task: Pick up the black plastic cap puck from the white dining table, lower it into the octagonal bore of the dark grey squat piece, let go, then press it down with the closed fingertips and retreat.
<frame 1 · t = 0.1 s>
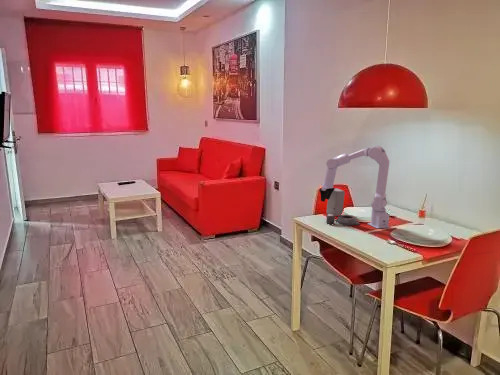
hand: (324, 200, 230), 10 cm above the table, tool pointing down, fingers open, 7 cm apart
dark grey squat piece: (346, 222, 220), on the table
skincare box: (334, 214, 239), on the table
cap: (330, 223, 218), on the table
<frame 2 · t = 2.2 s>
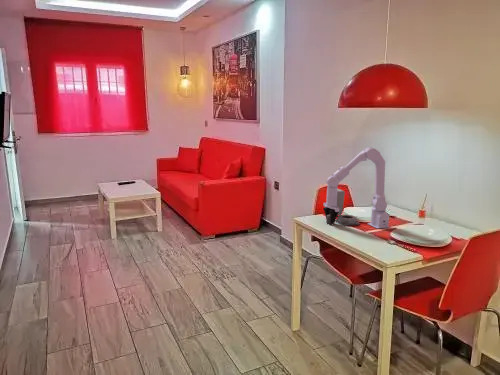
hand: (330, 221, 218), 1 cm above the table, tool pointing down, fingers closed on cap, 4 cm apart
cap: (330, 223, 218), on the table, touching gripper
everything else where it was.
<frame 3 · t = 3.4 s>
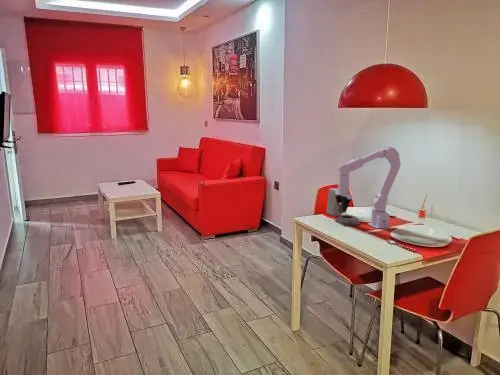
hand: (342, 209, 218), 8 cm above the table, tool pointing down, fingers closed on cap, 4 cm apart
cap: (342, 211, 218), point 7 cm above the table, touching gripper
everything else where it was.
when the fingers open (4 cm above the table, at t = 5.0 s): cap drops 2 cm, resting on dark grey squat piece.
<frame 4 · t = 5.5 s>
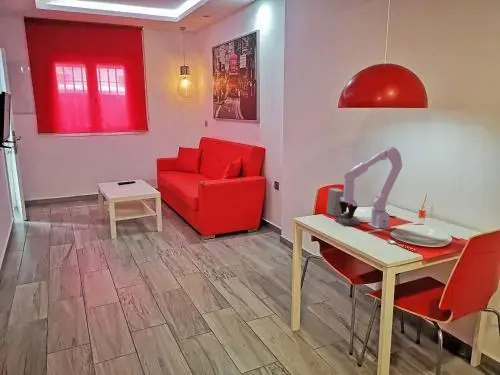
hand: (347, 215, 219), 4 cm above the table, tool pointing down, fingers open, 7 cm apart
cap: (346, 221, 220), point 1 cm above the table, touching dark grey squat piece
everything else where it was.
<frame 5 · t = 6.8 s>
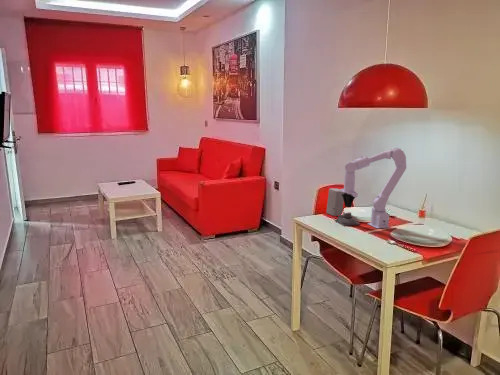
hand: (347, 206, 218), 9 cm above the table, tool pointing down, fingers closed
nothing on the table moved.
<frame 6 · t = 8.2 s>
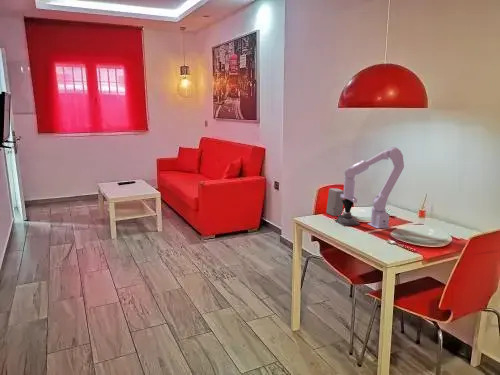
hand: (347, 212, 219), 6 cm above the table, tool pointing down, fingers closed, pressing on cap
cap: (346, 221, 220), point 1 cm above the table, touching dark grey squat piece, gripper
everything else where it was.
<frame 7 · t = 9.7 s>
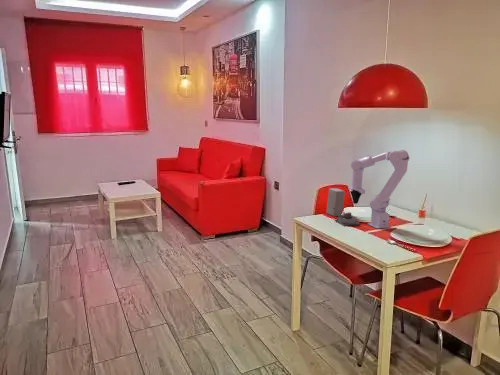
hand: (355, 203, 225), 10 cm above the table, tool pointing down, fingers closed
cap: (346, 221, 220), point 1 cm above the table, touching dark grey squat piece
everything else where it was.
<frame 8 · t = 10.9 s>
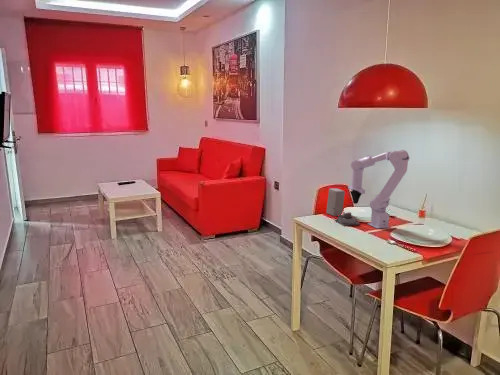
hand: (355, 203, 225), 10 cm above the table, tool pointing down, fingers closed
nothing on the table moved.
at the end: cap 0.1 cm from the dark grey squat piece (horizontally); cap point 1.0 cm above the table; cap tilted 0° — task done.
